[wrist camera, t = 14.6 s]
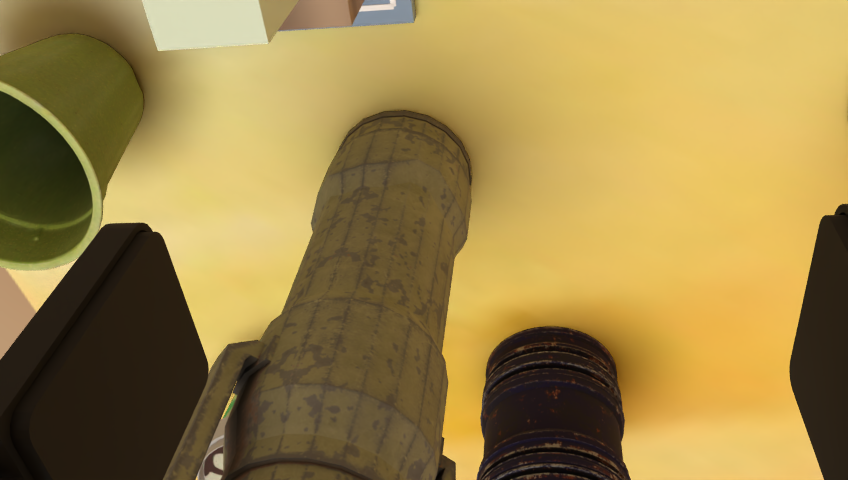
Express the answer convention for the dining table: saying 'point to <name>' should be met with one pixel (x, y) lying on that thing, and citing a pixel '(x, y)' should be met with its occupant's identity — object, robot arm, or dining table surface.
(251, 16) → the sage pillar block
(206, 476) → the food container
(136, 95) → the plant pot
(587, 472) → the storage jar
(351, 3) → the walnut plinth
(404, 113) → the thermos
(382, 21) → the blueprint mat
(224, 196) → the dining table surface
